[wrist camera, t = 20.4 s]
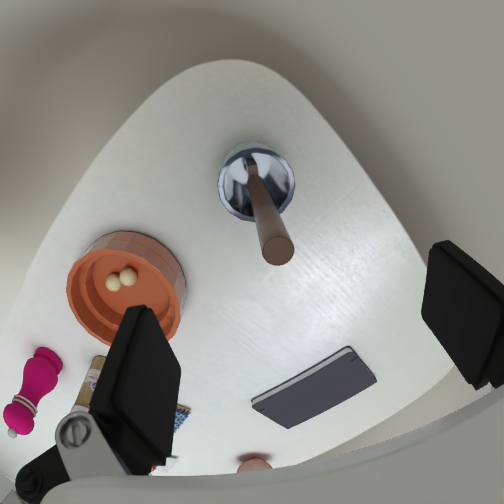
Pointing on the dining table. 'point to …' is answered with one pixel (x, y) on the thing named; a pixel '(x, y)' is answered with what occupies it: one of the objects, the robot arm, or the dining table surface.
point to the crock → (270, 170)
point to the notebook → (316, 389)
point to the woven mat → (180, 416)
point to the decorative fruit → (253, 466)
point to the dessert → (169, 464)
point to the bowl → (141, 292)
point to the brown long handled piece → (268, 220)
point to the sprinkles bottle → (88, 385)
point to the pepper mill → (32, 391)
